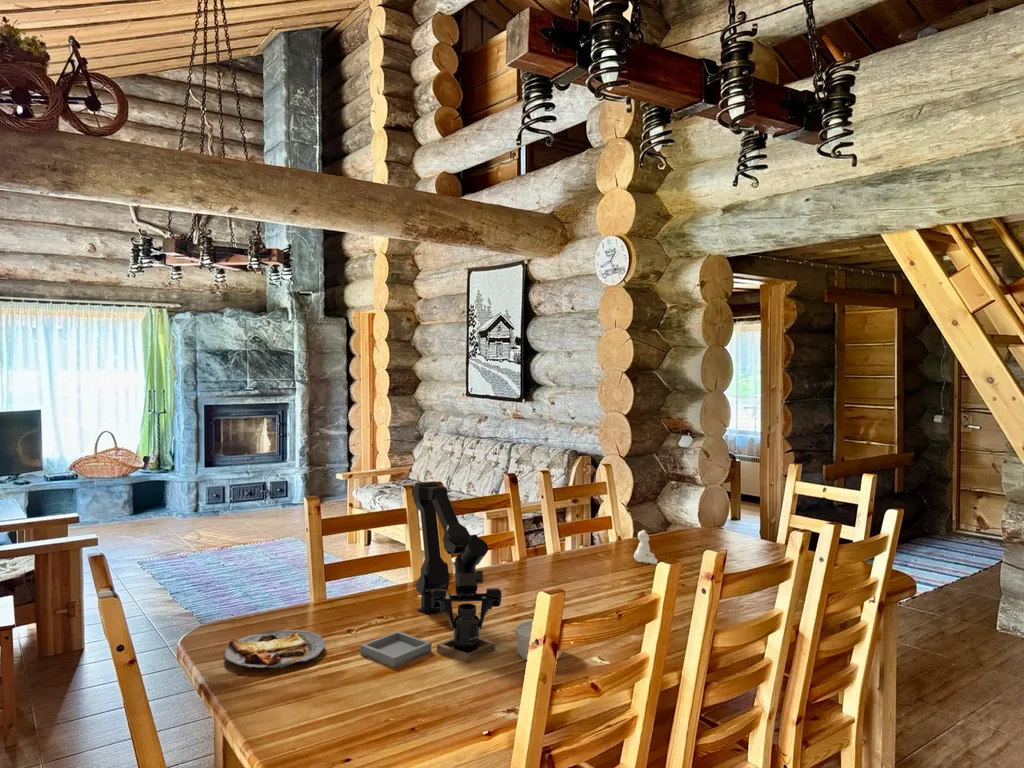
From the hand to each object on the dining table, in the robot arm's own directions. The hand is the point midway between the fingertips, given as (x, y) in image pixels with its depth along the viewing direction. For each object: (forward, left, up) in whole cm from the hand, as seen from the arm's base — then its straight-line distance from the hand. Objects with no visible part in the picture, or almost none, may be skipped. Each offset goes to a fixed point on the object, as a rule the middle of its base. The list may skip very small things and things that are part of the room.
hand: (466, 628), depth 193 cm
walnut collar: (-1, +1, -7) cm, 7 cm away
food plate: (-38, -33, -7) cm, 50 cm away
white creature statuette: (-8, +110, -7) cm, 110 cm away
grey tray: (-14, -12, -7) cm, 20 cm away
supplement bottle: (-1, +1, -7) cm, 7 cm away
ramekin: (+15, +12, -7) cm, 20 cm away
